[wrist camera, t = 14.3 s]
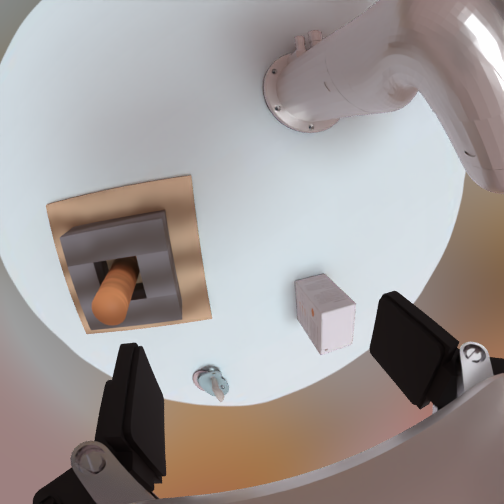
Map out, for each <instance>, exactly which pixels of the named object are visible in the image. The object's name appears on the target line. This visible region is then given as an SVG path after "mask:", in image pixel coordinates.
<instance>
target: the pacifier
mask: <svg viewBox="0 0 504 504" xmlns="http://www.w3.org/2000/svg"><path fill="white" fill-rule="evenodd" d="M200 375H201V376H200ZM199 376H200V377H199ZM198 377H199V382H198ZM221 377H222V374H221V372H220V371H211V372H207V371H197V372H196V373H195V374H194V376H193V381H194V383H195V385H196V386H197V387H198V388H199V389H201V390H203V391H206V392H207V393H209V394H210V395H212V396H216V397H217V398H218V400H219V401H220V402H222V401H223V399H224V395H226V394H227V392H228V390H229V386H228V383H227V382H226V381H225V380H224V379H222V378H221ZM221 385H224V386H225V387H224V388H221V387H220V386H221Z"/></svg>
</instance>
